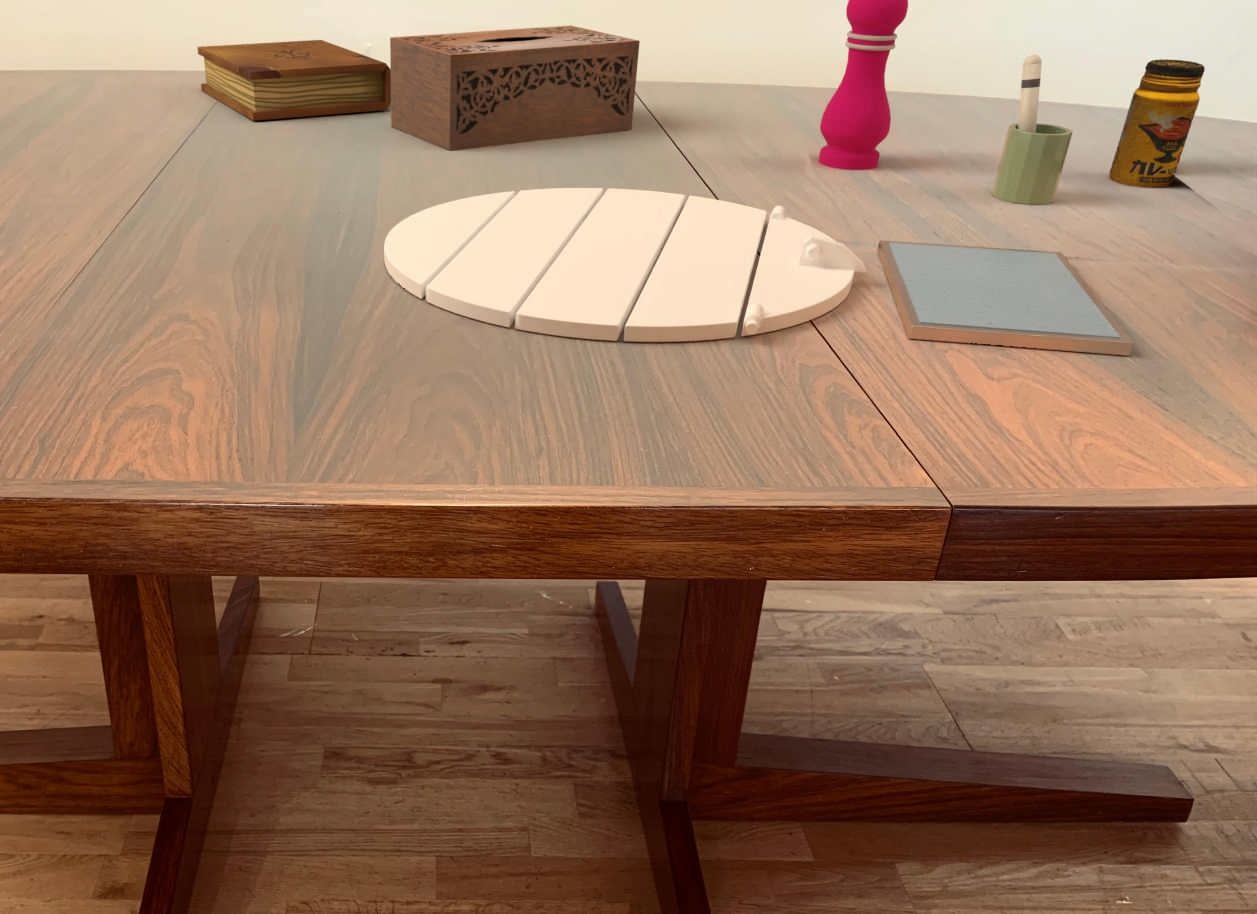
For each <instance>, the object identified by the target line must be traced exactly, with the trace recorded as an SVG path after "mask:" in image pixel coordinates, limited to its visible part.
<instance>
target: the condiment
mask: <svg viewBox="0 0 1257 914" xmlns="http://www.w3.org/2000/svg"><path fill="white" fill-rule="evenodd" d="M1205 70H1206V69H1205V65H1203V64H1202V63H1199V62H1197V61H1191V60H1190V61H1189V60H1182V59H1161V58H1160V59H1153V60H1150V61H1148V62H1147V63H1146V65H1145V70H1144V74H1143V76H1142V77H1141V79H1140V83H1139V86H1138V87H1137V88H1136V89H1135V91H1134V92H1133V94H1132V98H1131V100H1130V104H1129V107H1128V109H1127V110H1128V111H1127V114H1126V117H1125V121H1124V125H1123V127H1122V131H1121V133H1120V137H1119V141H1118V143H1117V147H1116V150H1115V153H1114V157H1113V161H1112V163H1111V167H1110V170H1109V179H1110V181H1112V182H1114V183H1117V184H1120V185H1125V186H1130V187H1134V188H1135V187H1136V188H1143V189H1144V188H1146V189H1161V188H1168V187H1169V186H1171V183H1172V182H1173V180H1174V178H1175V177H1176V175H1175V174H1176V172H1177V169H1178V167H1179V164H1180V161H1181V156H1182V153H1183V151H1184V148H1185V146H1186V142H1187V139H1188V136H1189V132H1190V129H1191V126H1192V123H1193V120H1194V118H1195V114H1196V112H1197V109H1198V106H1199V103H1200V94H1199V92H1198V91H1199V88H1200V87H1201V86H1202V85H1201V84H1202V78H1203V77H1204V73H1205Z"/></svg>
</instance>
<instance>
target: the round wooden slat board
mask: <svg viewBox="0 0 1257 914" xmlns="http://www.w3.org/2000/svg"><path fill="white" fill-rule="evenodd" d="M685 200H686V194H681V193H676V192H675V193H673V192H666V191H655V190H644V189H629V188H627V189H626V188H607V189H606V190H605V192H604V187H559V188H536V189H535V188H534V189H522V190H519V191H518V192H517V193H516V190H510V191H501V192H495V193H487V194H481V195H475V196H470V197H464V198H460V199H456V200H451V201H448V202H443V203H440V204H436V205H433V206H430V207H428V208H425V209H422V210H420V211H418V212H415V213H413V214H411V215H409V216H407V217H406V218H404V219H402V220H400V221H399V222H398V223H397V224H396V225H395V226H393V228H392V229H391V230H390V231H389V232H388V233H387V235H386V237H385V239H384V244H383V255H384V256H383V258H384V260H383V261H384V266H385V268H386V271H387V273H388V274H389V275H390V277H391V276H392V277H391V278H392V279H393V280H394V281H395V283H397V284H398V283H399V284H400V285H401V286H400V285H399V284H398V285H399V286H400V287H402V288H403V289H404V288H405V290H406V291H407V292H408V293H410V294H412V295H413V296H415V297H416V298H419V299H420V300H422V299H423V298H424V297H425V302H426V301H427V303H429V304H431V305H433V306H435V307H437V308H440V309H443V310H445V311H447V312H451V313H453V314H457V315H459V316H462V317H465V318H469V319H473V320H475V321H479V322H483V323H487V324H491V325H496V326H499V327H505V328H511V326H512V325H513V323H514V329H515V330H519V331H524V332H530V333H536V334H543V335H550V336H557V337H565V338H573V339H574V338H575V339H585V340H596V341H609V342H611V341H613V342H617V341H619V338H620V336H621V334H622V332H623V342H636V343H673V342H674V343H676V342H679V343H680V342H698V341H700V342H701V341H712V340H723V339H732V338H735V337H736V335H737V331H738V327H739V323H740V320H741V316H742V312H743V308H744V304H745V301H746V297H747V294H748V289H749V285H750V281H751V277H752V274H753V270H754V266H755V262H756V259H757V255H758V251H759V248H760V244H761V241H762V236H763V232H764V228H765V225H766V219H767V213H768V212H767V210H765V209H760V208H757V207H753V206H748V205H745V204H739V203H735V202H730V201H726V200H721V199H715V198H708V197H703V196H696V195H689V196H688V198H687V200H686V202H685ZM758 259H759V260H758V264H757V266H756V267H757V268H756V271H755V275H754V279H753V283H752V287H751V291H750V295H749V298H748V304H747V307H746V310H745V315H744V318H743V323H742V330H741V337H747V336H754V335H758V334H759V335H760V334H764V333H770V332H774V331H779V330H783V329H787V328H790V327H794V326H797V325H800V324H803V323H806V322H809V321H813V320H814V319H816V318H819V317H821V316H823V315H825V314H827V313H828V312H831V310H833V309H835V308H836V307H838V306H839V305H840V304H841V303H842V302H844V301H845V299H846V298H847V297H848V295H849V294H850V292H851V289H852V285H853V280H854V275H855V273H863V274H865V273H867V269H866V267H865V264H864V262H863V260H862V259H861V258H860V257H858V256H857V254H855V253H854V252H853V251H852V250H851V249H850V248H849V247H847V246H846V245H845V244H844V243H842V242H839V241H836V240H835V239H834V238H832V237H831V236H829V235H828V234H826V233H824V232H823V231H821V230H818V229H816V228H815V227H812V226H810V225H807V224H806V223H803V222H801V221H799V220H796V219H792V218H791V217H787V216H786V208H785V207H784V206H783V205H780V204H779V205H776V206H774V207H773V209H772V212H770V216H769V220H768V224H767V228H766V232H765V236H764V240H763V243H762V247H761V251H760V256H759V258H758ZM623 330H624V331H623Z"/></svg>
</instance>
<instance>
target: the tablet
mask: <svg viewBox="0 0 1257 914" xmlns="http://www.w3.org/2000/svg"><path fill="white" fill-rule="evenodd" d="M877 254H878V257H879V259H880V262H881V265H882V268H883V271H884V273H885V276H886V279H887V281H888V285H889V287H890V290H891V293H892V296H893V299H894V302H895V304H896V307H897V310H898V312H899V315H900V317H901V321H902V324H903V326H904V329H905V333H906V335H907V338H908V339H909V340H920V341H921V340H922V341H933V342H945V341H946V342H948V343H958V344H959V343H960V344H970V343H973V344H972V345H983V344H986V346H988V345H987V344H990V345H989V346H996V345H1003V346H1002V347H1009V346H1010V347H1011V346H1013V347H1011V348H1022V347H1026V348H1025V349H1034V348H1036V350H1048V351H1050V350H1051V351H1060V350H1061V352H1062V351H1063V352H1073V353H1074V352H1075V353H1085V354H1099V355H1100V354H1101V355H1110V356H1111V355H1113V356H1125V357H1129V356H1130V355H1131V352H1132V349H1133V346H1134V341H1133V340H1132V339H1131V338H1130V337H1129V335H1128V333H1126V331H1125V330H1124V329H1123V328H1122V326H1121V325H1120V324H1119V323H1118V322H1117V320H1116V319H1115V317H1113V315H1112V314H1111V313H1110V311H1109V310H1108V308H1107V307H1106V306H1105V305H1104V304H1103V302H1102V301H1101V300H1100V298H1098V297H1097V295H1096V294H1095V293H1094V291H1093V289H1091V287H1090V286H1089V285H1088V284H1087V282H1086V281H1085V280H1084V278H1082V276H1081V275H1080V273H1079V272H1078V271H1077V270H1076V269H1075V268H1074V266H1073V265H1072V264H1071V262H1070V261H1069V260H1068V259H1067V258H1066V256H1065V255H1064V254H1063V253H1062V252H1061V251H1060V252H1059V251H1046V250H1030V249H1016V248H1015V249H1013V248H1001V247H1000V248H999V247H985V246H972V245H971V246H969V245H955V244H939V243H924V242H909V241H895V240H894V241H893V240H879V241H878V245H877ZM975 343H977V344H975Z"/></svg>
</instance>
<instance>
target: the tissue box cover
mask: <svg viewBox="0 0 1257 914" xmlns="http://www.w3.org/2000/svg"><path fill="white" fill-rule="evenodd" d="M640 43H641V42H640V40H638V39H634V38H629V37H626V36H625V37H624V36H620V35H616V34H612V33H606V32H601V31H598V30H593V29H589V28H585V27H580V26H575V25H572V24H571V25H570V24H569V25H555V26H543V27H528V28H527V27H526V28H512V29H497V30H480V31H468V32H452V33H438V34H421V35H409V36H408V35H407V36H393V37H389V44H390V45H389V46H390V47H389V49H390V50H389V53H390V56H389V57H390V59H389V60H390V69H391V104H390V127H391V128H394V129H396V130H398V131H401V132H403V133H406V134H409V135H411V136H412V137H416V138H418V139H420V140H423V141H426V142H428V143H430V144H433V145H435V146H437V147H440V148H442V149H445V150H447V151H458V150H466V149H472V148H473V149H475V148H483V147H492V146H498V145H499V146H500V145H501V146H502V145H508V144H518V143H519V144H520V143H528V142H535V141H543V140H551V139H561V138H562V139H563V138H570V137H578V136H588V135H595V134H596V135H597V134H607V133H614V132H622V131H630V130H631V131H632V128H633V120H634V119H633V118H634V108H635V95H636V85H637V74H638V64H639V63H638V62H639V51H640V50H639V49H640Z"/></svg>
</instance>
